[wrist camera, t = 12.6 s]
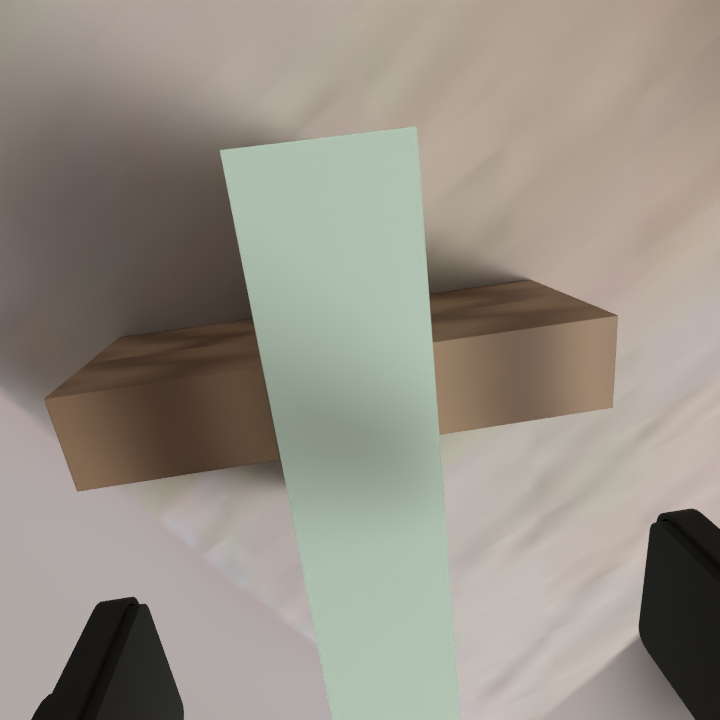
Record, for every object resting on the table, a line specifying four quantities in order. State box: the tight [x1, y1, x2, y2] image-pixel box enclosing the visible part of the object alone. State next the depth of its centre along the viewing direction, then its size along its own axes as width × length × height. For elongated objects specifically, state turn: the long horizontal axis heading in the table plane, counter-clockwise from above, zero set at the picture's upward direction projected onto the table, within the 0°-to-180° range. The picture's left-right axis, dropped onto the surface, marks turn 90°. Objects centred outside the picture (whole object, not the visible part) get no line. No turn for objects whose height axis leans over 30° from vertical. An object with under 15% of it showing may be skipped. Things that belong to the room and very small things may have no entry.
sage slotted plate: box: [220, 126, 460, 720], centre depth 20 cm, size 18×4×15 cm, turn 7°
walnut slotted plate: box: [44, 280, 618, 491], centre depth 23 cm, size 22×4×8 cm, turn 97°
